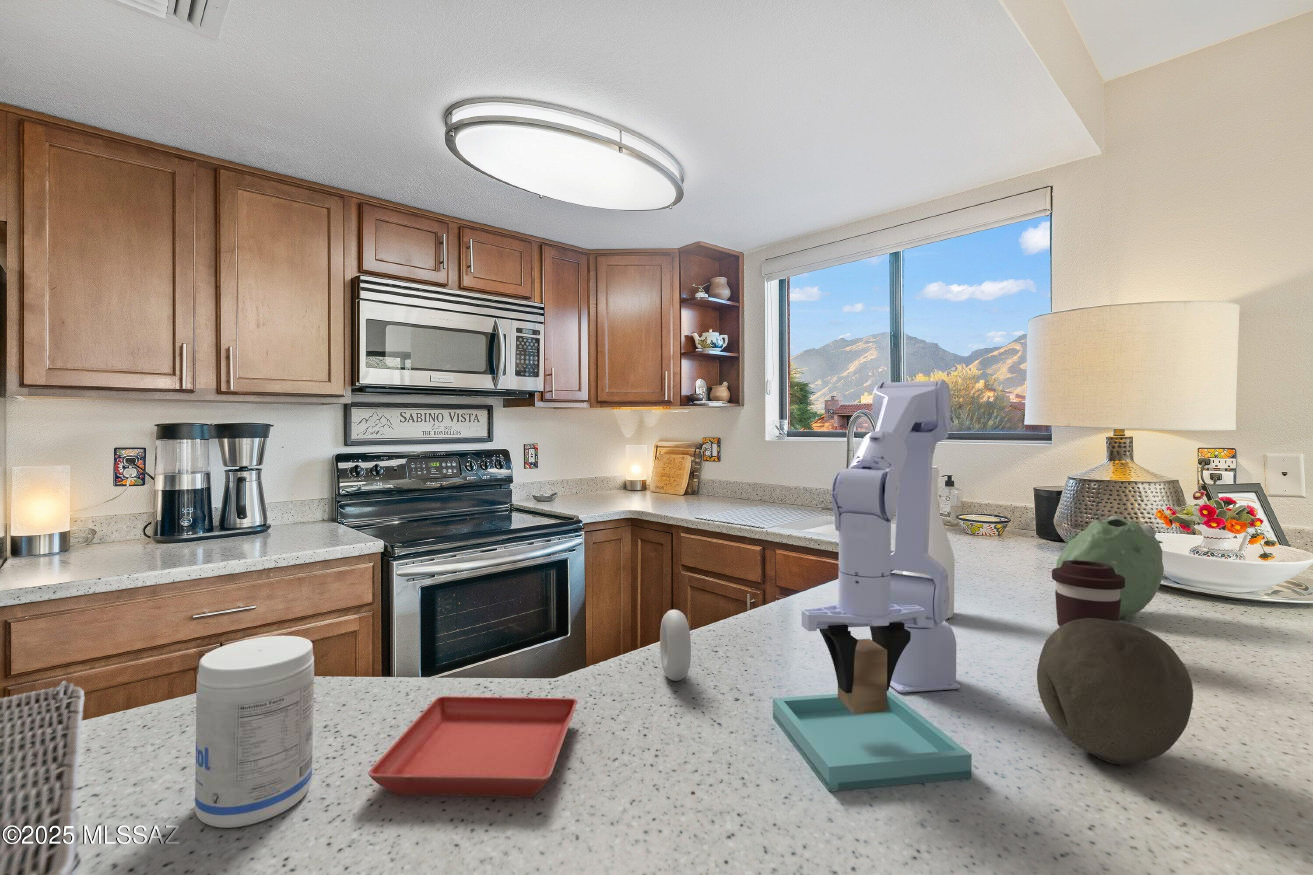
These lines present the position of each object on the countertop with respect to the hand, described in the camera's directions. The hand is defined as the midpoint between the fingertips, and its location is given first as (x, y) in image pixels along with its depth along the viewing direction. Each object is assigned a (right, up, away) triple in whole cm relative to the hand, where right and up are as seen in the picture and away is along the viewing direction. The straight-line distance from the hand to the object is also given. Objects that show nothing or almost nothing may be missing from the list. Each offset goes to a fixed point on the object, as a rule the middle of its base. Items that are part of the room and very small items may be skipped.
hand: (863, 688), depth 70 cm
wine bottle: (+31, -7, +52) cm, 61 cm away
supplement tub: (-63, -6, -11) cm, 64 cm away
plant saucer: (-43, -7, -3) cm, 44 cm away
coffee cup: (+48, -7, +30) cm, 57 cm away
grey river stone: (+28, -7, -2) cm, 28 cm away
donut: (-21, -7, +19) cm, 29 cm away
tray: (0, -7, 0) cm, 7 cm away
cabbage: (+68, -7, +52) cm, 85 cm away
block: (0, -2, 0) cm, 2 cm away
